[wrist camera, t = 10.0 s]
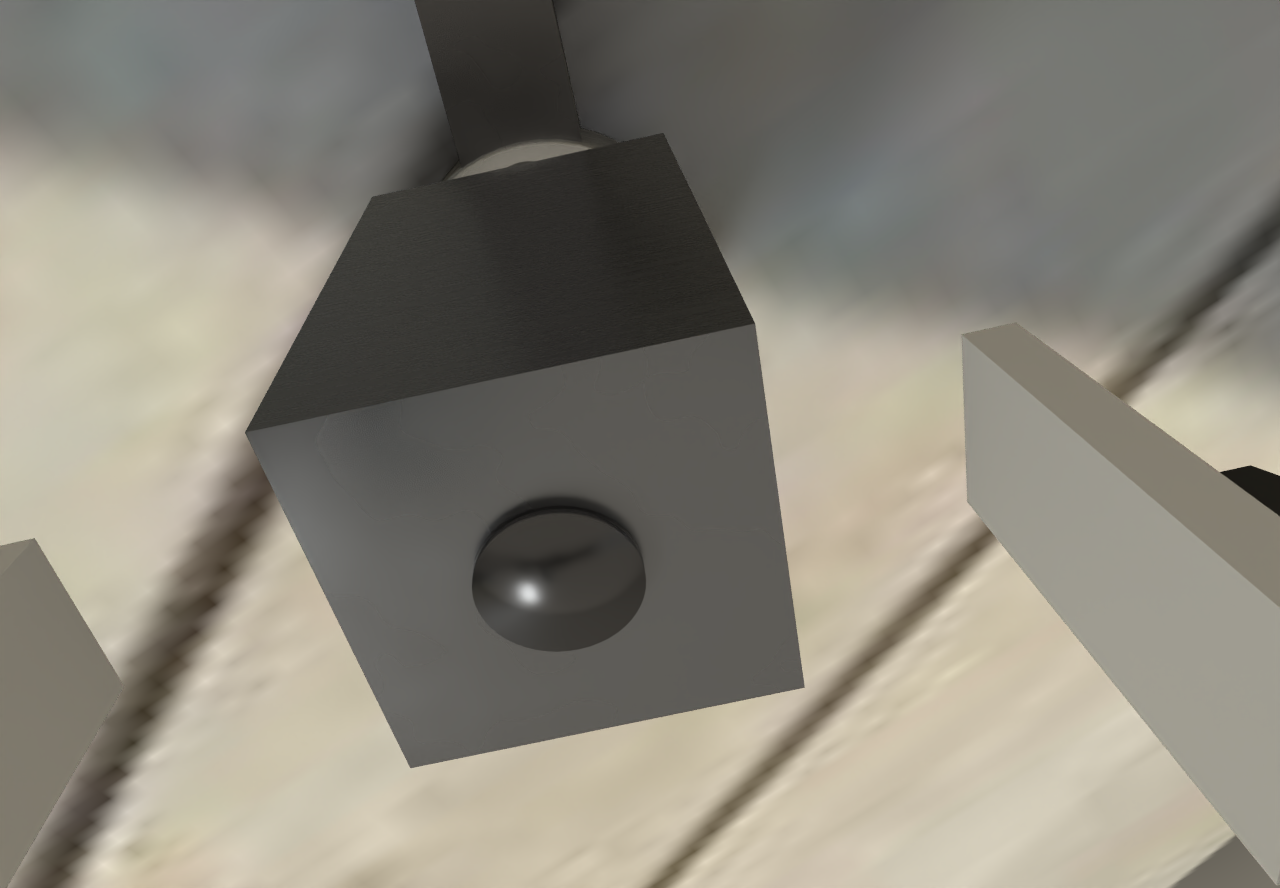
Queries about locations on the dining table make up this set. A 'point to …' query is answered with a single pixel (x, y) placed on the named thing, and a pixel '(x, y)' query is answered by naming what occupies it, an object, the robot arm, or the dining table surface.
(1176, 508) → the robot arm
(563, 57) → the ratchet
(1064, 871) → the dining table surface
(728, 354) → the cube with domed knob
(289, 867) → the dining table surface
